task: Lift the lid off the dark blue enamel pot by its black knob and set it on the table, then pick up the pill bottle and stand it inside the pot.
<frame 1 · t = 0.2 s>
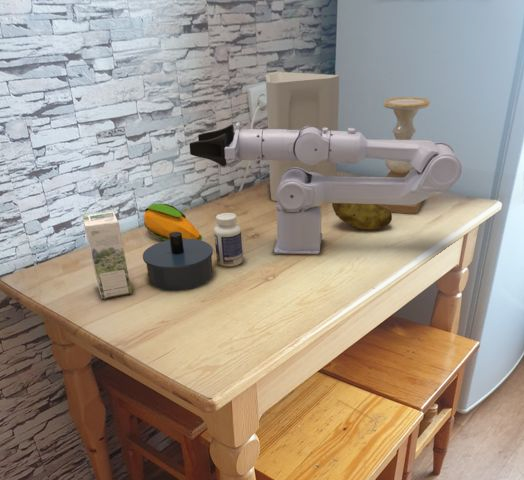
hand: (194, 144, 111), 22 cm above the table, tool horizontal, fingers open, 7 cm apart
potato: (360, 227, 128), on the table
paper bag: (292, 193, 150), on the table
candle holder: (397, 205, 139), on the table
lid: (178, 254, 108), point 5 cm above the table, touching pot
pill bottle: (230, 262, 115), on the table
pot: (181, 276, 111), on the table
syrup box: (115, 291, 107), on the table
corn: (176, 240, 127), on the table
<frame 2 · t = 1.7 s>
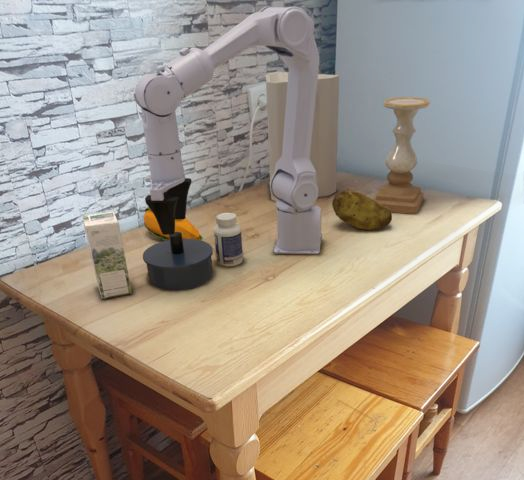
hand: (174, 226, 105), 10 cm above the table, tool pointing down, fingers open, 7 cm apart
nothing on the table moved.
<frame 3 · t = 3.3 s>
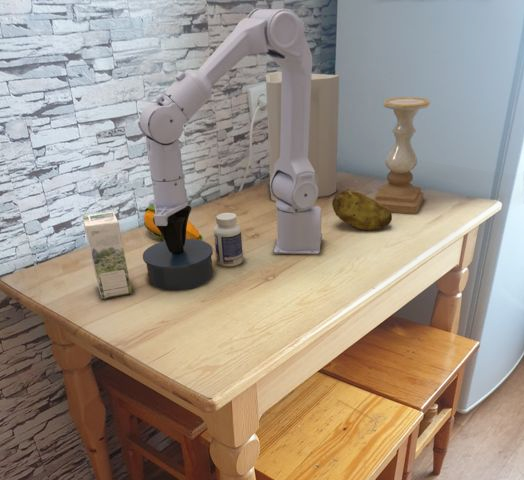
hand: (177, 248, 108), 6 cm above the table, tool pointing down, fingers closed on lid, 2 cm apart
lid: (178, 254, 108), point 5 cm above the table, touching gripper, pot
everything else where it was.
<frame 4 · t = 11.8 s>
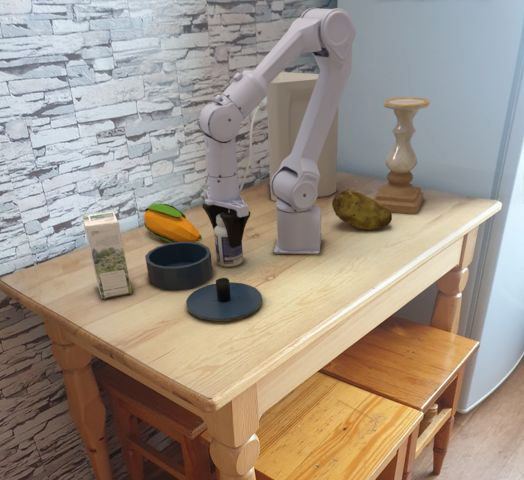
hand: (228, 241, 113), 4 cm above the table, tool pointing down, fingers closed on pill bottle, 5 cm apart
lid: (224, 301, 100), point 1 cm above the table
pill bottle: (230, 262, 115), on the table, touching gripper
everything else where it was.
when the fingers open (5 cm above the table, at t = 16.2 s): pill bottle stays where it is, resting on pot.
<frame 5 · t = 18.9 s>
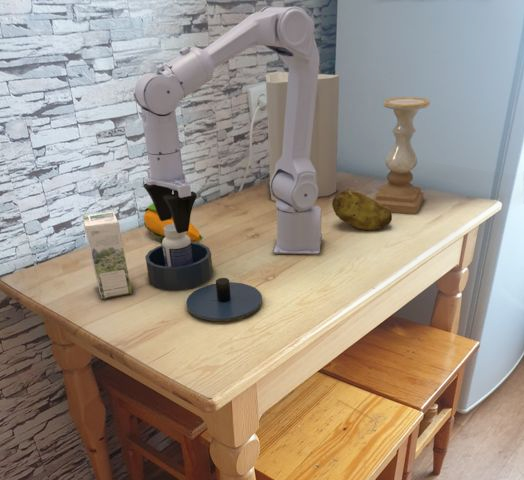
hand: (174, 225, 105), 10 cm above the table, tool pointing down, fingers open, 7 cm apart
pill bottle: (180, 275, 111), resting on pot
everything else where it was.
at the end: lid inside the target area (0.0 cm from its centre), point 0.6 cm above the table; pill bottle inside the target area in the pot (0.0 cm from its centre), point 0.2 cm above the pot's base; pill bottle tilted 0° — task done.
